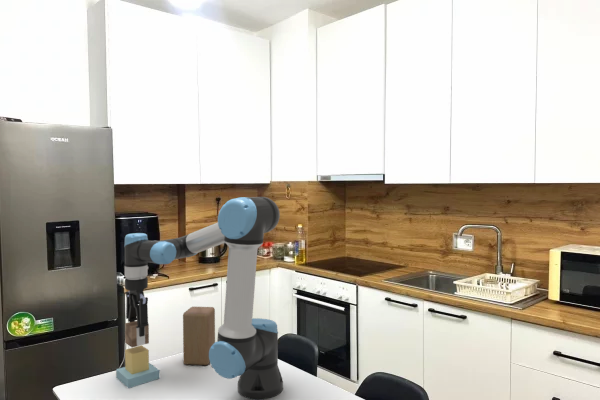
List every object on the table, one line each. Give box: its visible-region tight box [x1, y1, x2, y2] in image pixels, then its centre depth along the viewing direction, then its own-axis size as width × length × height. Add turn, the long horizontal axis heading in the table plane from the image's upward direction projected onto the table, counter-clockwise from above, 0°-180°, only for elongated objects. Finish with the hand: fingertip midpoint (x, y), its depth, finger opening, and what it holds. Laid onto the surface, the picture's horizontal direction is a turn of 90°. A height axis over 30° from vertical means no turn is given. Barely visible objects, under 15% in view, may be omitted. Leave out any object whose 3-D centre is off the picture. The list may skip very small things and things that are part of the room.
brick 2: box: [124, 345, 150, 374], centre depth 154 cm, size 6×6×7 cm
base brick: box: [115, 362, 160, 389], centre depth 154 cm, size 11×11×3 cm
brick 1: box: [124, 320, 150, 348], centre depth 154 cm, size 6×6×7 cm
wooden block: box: [182, 306, 216, 366], centre depth 169 cm, size 10×10×20 cm
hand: (137, 342), depth 154 cm, fingers closed on brick 1, 6 cm apart
